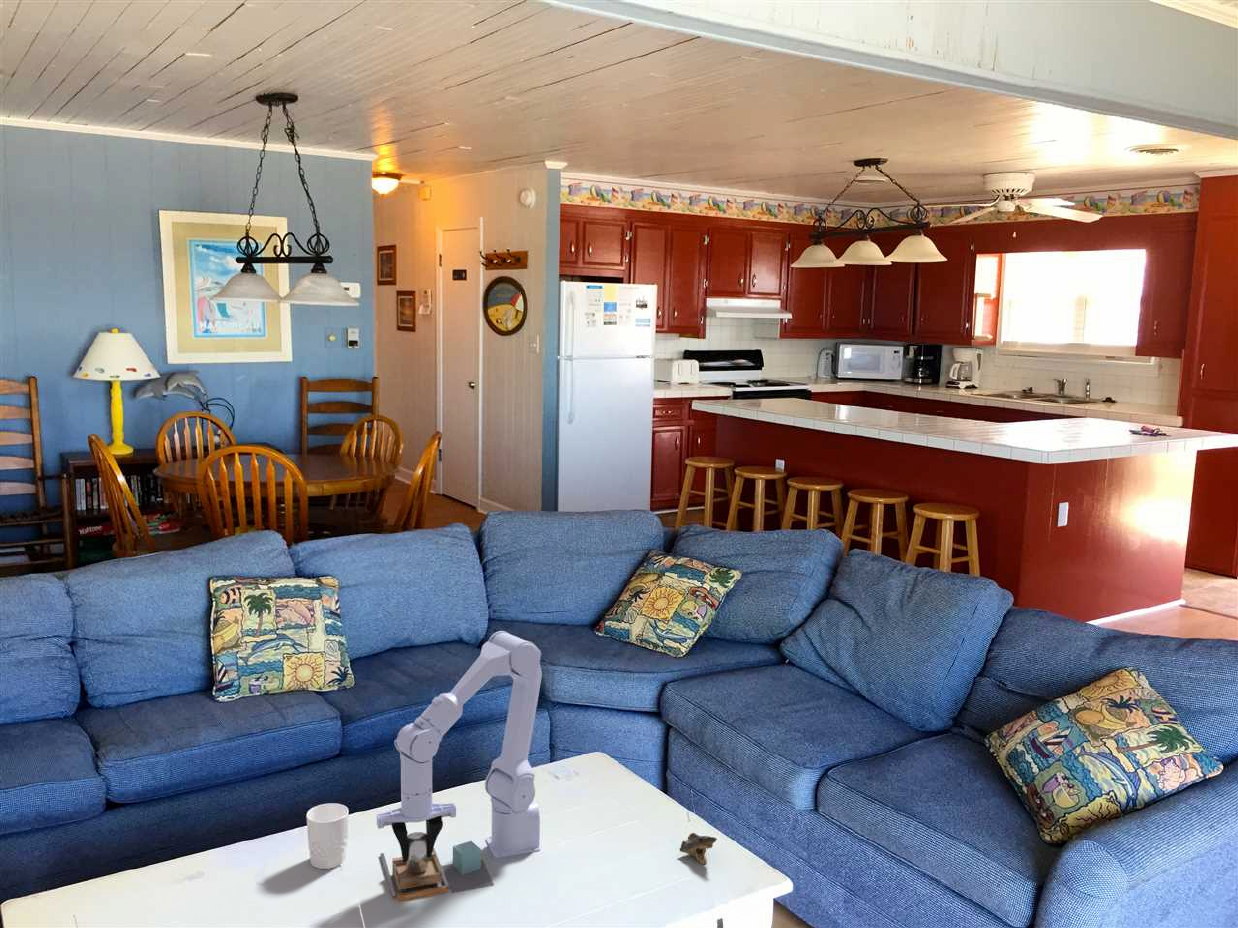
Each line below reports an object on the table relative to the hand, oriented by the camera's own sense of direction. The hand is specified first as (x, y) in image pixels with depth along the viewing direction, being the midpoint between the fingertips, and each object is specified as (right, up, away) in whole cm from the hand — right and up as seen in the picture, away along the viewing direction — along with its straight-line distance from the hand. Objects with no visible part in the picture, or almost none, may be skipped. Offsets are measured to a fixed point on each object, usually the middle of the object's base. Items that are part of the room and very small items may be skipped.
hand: (416, 856), depth 190 cm
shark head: (+54, -5, +12) cm, 56 cm away
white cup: (-19, -4, +8) cm, 21 cm away
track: (-1, -5, +4) cm, 6 cm away
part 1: (0, -2, 0) cm, 2 cm away
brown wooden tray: (0, -5, 0) cm, 5 cm away
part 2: (+9, -4, +6) cm, 11 cm away
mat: (+9, -5, +3) cm, 11 cm away
